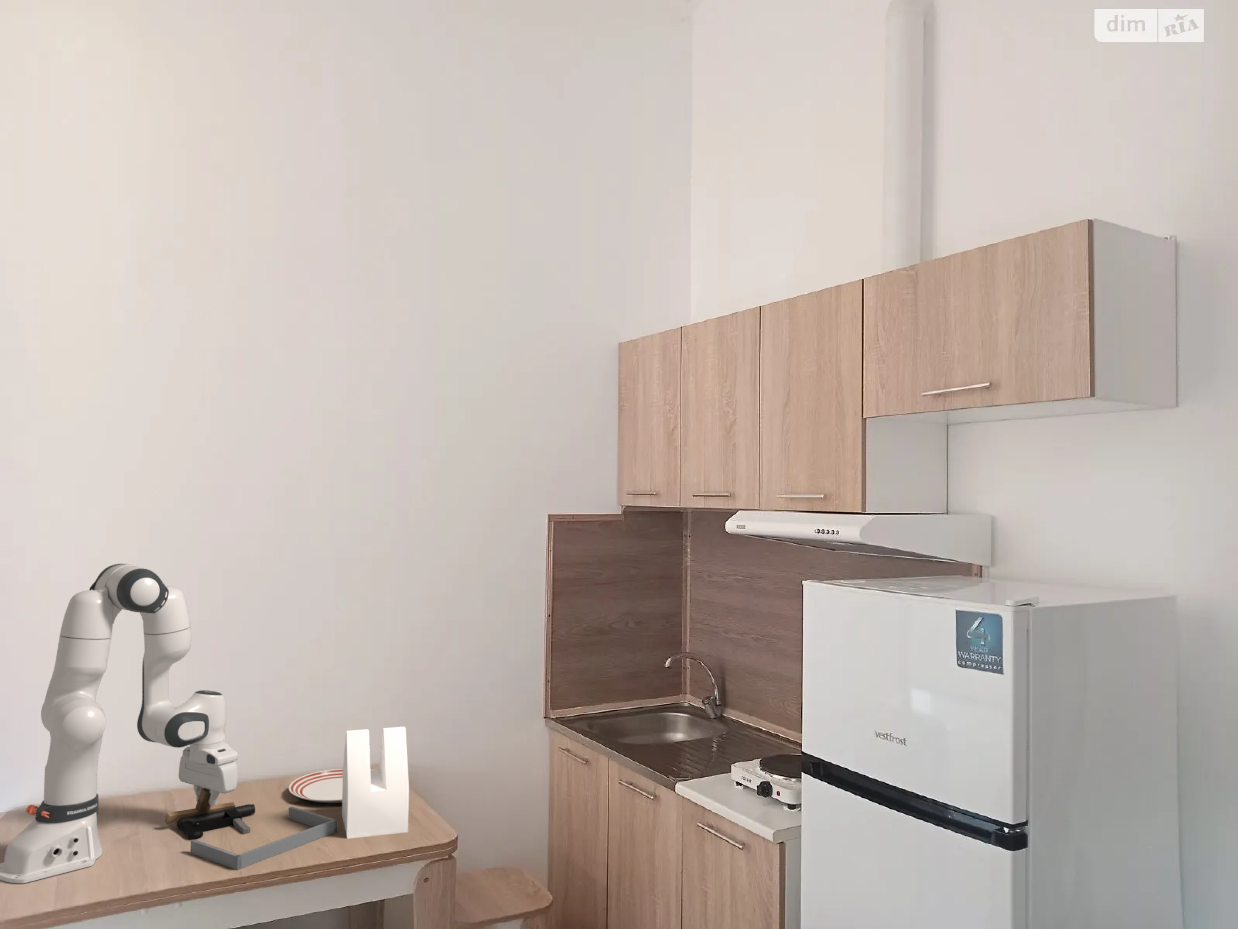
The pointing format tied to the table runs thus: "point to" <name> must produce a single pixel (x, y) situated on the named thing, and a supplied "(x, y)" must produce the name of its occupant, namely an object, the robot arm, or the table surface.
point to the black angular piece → (215, 821)
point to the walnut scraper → (197, 808)
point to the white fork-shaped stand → (375, 785)
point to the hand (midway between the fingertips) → (206, 803)
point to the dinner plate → (319, 786)
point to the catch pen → (235, 861)
